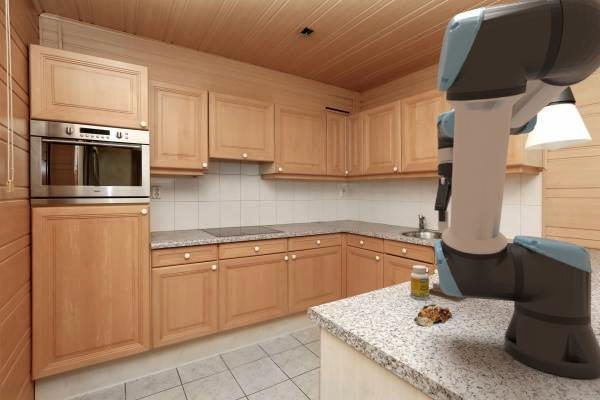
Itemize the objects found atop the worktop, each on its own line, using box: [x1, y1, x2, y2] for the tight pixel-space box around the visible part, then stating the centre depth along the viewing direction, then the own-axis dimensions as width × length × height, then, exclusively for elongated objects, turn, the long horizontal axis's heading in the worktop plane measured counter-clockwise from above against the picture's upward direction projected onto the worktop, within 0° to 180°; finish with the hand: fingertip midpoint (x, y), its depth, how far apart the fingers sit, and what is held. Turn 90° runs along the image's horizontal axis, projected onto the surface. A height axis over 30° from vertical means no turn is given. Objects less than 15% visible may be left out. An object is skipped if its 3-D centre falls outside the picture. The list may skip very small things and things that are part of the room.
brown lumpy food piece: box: [413, 302, 453, 328], centre depth 79 cm, size 7×12×4 cm, turn 136°
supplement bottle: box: [410, 264, 430, 301], centre depth 95 cm, size 5×5×10 cm
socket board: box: [429, 281, 467, 303], centre depth 98 cm, size 12×9×3 cm
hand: (451, 230), depth 96 cm, fingers open, 13 cm apart
